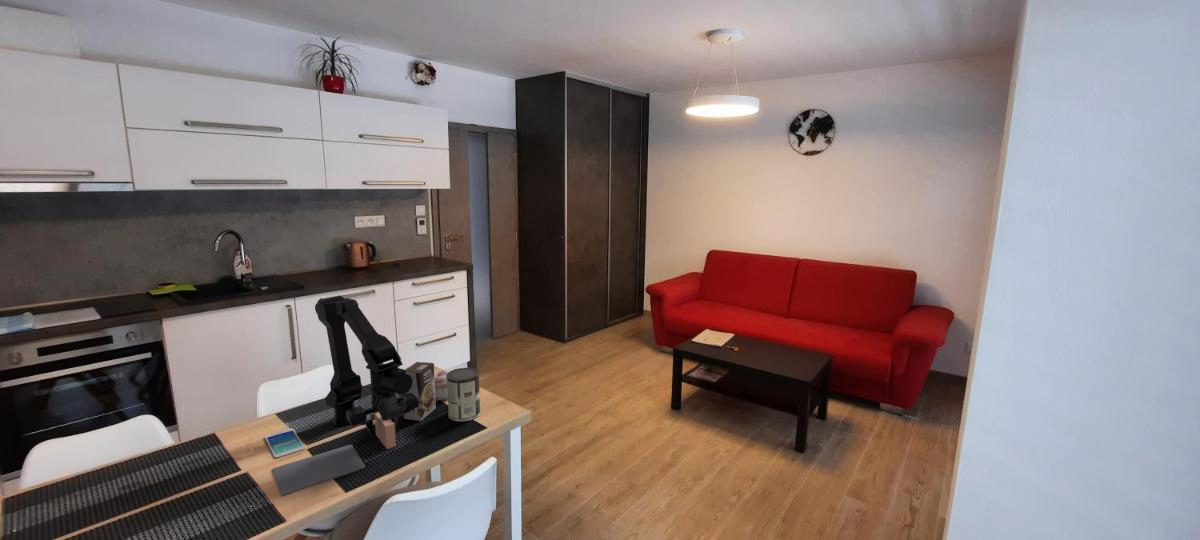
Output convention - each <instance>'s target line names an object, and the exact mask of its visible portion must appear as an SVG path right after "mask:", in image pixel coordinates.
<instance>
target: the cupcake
mask: <svg viewBox="0 0 1200 540" xmlns="http://www.w3.org/2000/svg"><path fill="white" fill-rule="evenodd" d="M448 372H449V371H448V370H446V369H442V370H440V371H438V373H437V374H436V375H434V379H435V400H438V401H444V400H445V401H448V392H447V378H446V375H447V373H448Z"/></svg>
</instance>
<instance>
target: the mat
mask: <svg viewBox="0 0 1200 540" xmlns="http://www.w3.org/2000/svg"><path fill="white" fill-rule="evenodd" d="M366 467H367V466H366V464H365V462H363V460H362V458H361V457H360V456H359V454H358V452H357V450H356V449H355V447H354V446H353V445H352V444H348V445H344V446H342V447H338V448H335V449H331V450H329V451H325V452H322V453H318V454H316V455H312V456H309V457H305V458H302V459H299V460H296V461H292V462H288V463H286V464H282V465H279V466H275V467H273V468H272V472H273V475H274V477H275V481H276V483H277V487H278V491H279V493H280V497H284V496H286V495H289V494H293V493H296V492H299V491H301V490H304V489H307V488H308V489H309V488H310V487H314V486H317V485H319V484H322V483H325V482H328V481H331V480H334V479H336V478H340V477H343V476H345V475H349V474H352V473H354V472H357V471H361V470H363V468H364V469H366ZM360 469H361V470H360Z"/></svg>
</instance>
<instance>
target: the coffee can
mask: <svg viewBox="0 0 1200 540" xmlns="http://www.w3.org/2000/svg"><path fill="white" fill-rule="evenodd" d="M480 373H481V372H480V371H479V370H478V369H477V368H474V367H460V368H456V369H452V370H449V371H448V373H447V375H446V378H447V392H448V399H447V406H448V407H447V409H448V412H447V413H448V415H447V416H448V418H449V419H450V420H452V421H454V422H461V423H462V422H468V421H472V420H474V419H476V418H478V417H480V415H481V397H480V396H481V395H480V393H481V392H480V390H481V389H480Z"/></svg>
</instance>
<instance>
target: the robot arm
mask: <svg viewBox="0 0 1200 540" xmlns="http://www.w3.org/2000/svg"><path fill="white" fill-rule="evenodd" d="M314 311H315V313H316V315H317V318H318V321H319V322H321V323H322V325H324V326H325V329H326V334H327V338H328V339H327V340H328V345H329V350H330V355H331V356H330V357H331V361H332V367H333V376H332V378H331V381H330V383H329V385H330V388H329V389H330V390H329V392H327V393H328V394H327V395H326V396H325V397H324V399H325V403H326V405H327V406H329V407H330V408H333V412H334V416H332V417H331V420H332V422H333V423H334V425H335V426H336V427H340V426H344V425H349V424H350V426H357V425H361V426H365V427H366V428H367V431H368V432H369V434H370V436H371V438H372V439H373V441H374V440H376V432H375V427H374V420H373V418H371V416H372V415H375V414H376V413H380V415H381V418H382V420H384V421H387V420H389V419H391V420H392V419H394V420H393V421H394V422H393V423H394V424H395V434H396V433H399V430H400V428H401V423H402V421H403V418H404V415H405V414H406V413H408V412H410V410H411V409H414V408H418V407H419V400H418V398H417V397H416V396H415V395H414V394H412V393H408V394H406V393H407V392H408V391H409V390H410V389H411V387H412V383H413V380H412V378H411V376H410V375H408V374H406V372H405V369H403V368H400V367H401V366H403V362H402V357H401V356H400V354H399V353H398V351H397V349H396V347H395V346H394V344H393V343H392V342H391V341H390V340H389V339H388V338H387V337H386V336H384V335H383V334H379V333H378V332H377V330H376V329H375V328H374V326H373V325H372V324H371V323H370V321H369V319H368V318H367V316H366V315H365V314H364V313H363V311H362V309H360V307H359V303H358V301H357V300H356V299H353V298H349V297H347V298H345V297H343V296H342V295H336V296H335V295H334V296H330V297H324V298H321V299H318V300H317V303H315V305H314ZM345 323H346V324H347V325H348V327H349V328H350V329H351V331H352V332H353V333H354V336H356V338H357V339H358V342H360V344H361V354H362V356H363V358H364V361H365V362H366V364H367V365H366V366H365V368H366V369H367V370H369V376H370V377H369V378H370V391H371V405H372V407H370V408H366V409H365V408H363V407H362V406H361V405H359V406H355V401H357V400H361V399H362V392H363V384H362V380H361V379H362V377H361V376H360V374H357V373H356V372H355V371H354V370H353V367H352V362H351V356H350V350H349V345H348V338H347V333H346V328H345ZM389 361H390V362H389ZM386 362H387V363H386ZM403 394H404V395H403ZM396 395H399V397H397V396H396Z"/></svg>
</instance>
